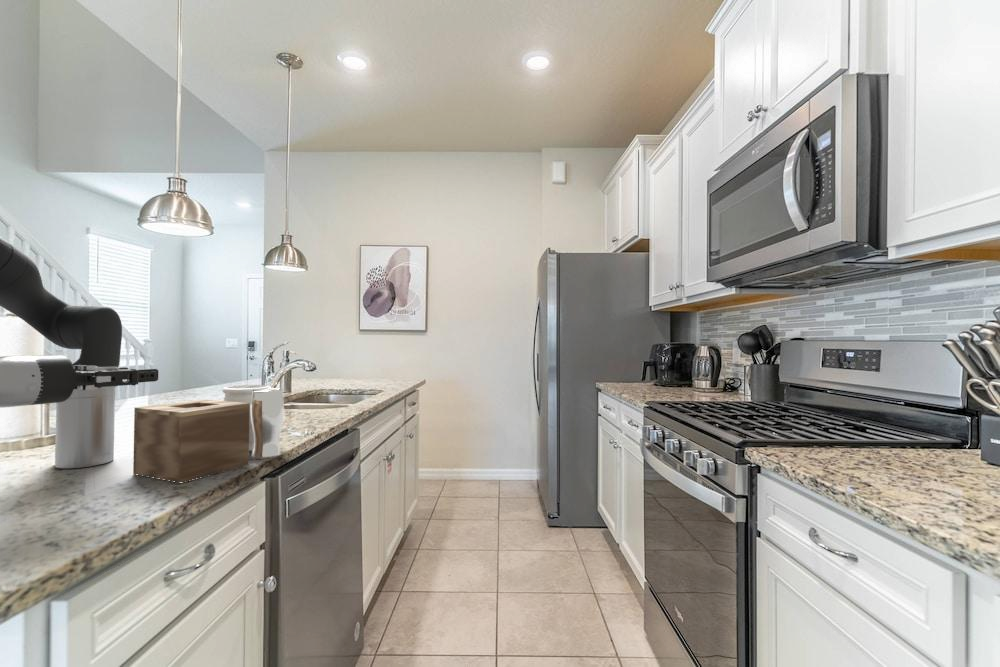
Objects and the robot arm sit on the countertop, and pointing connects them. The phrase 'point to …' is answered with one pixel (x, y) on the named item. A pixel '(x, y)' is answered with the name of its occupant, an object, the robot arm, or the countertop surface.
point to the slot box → (190, 439)
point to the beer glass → (266, 422)
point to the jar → (242, 400)
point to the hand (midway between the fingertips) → (142, 374)
